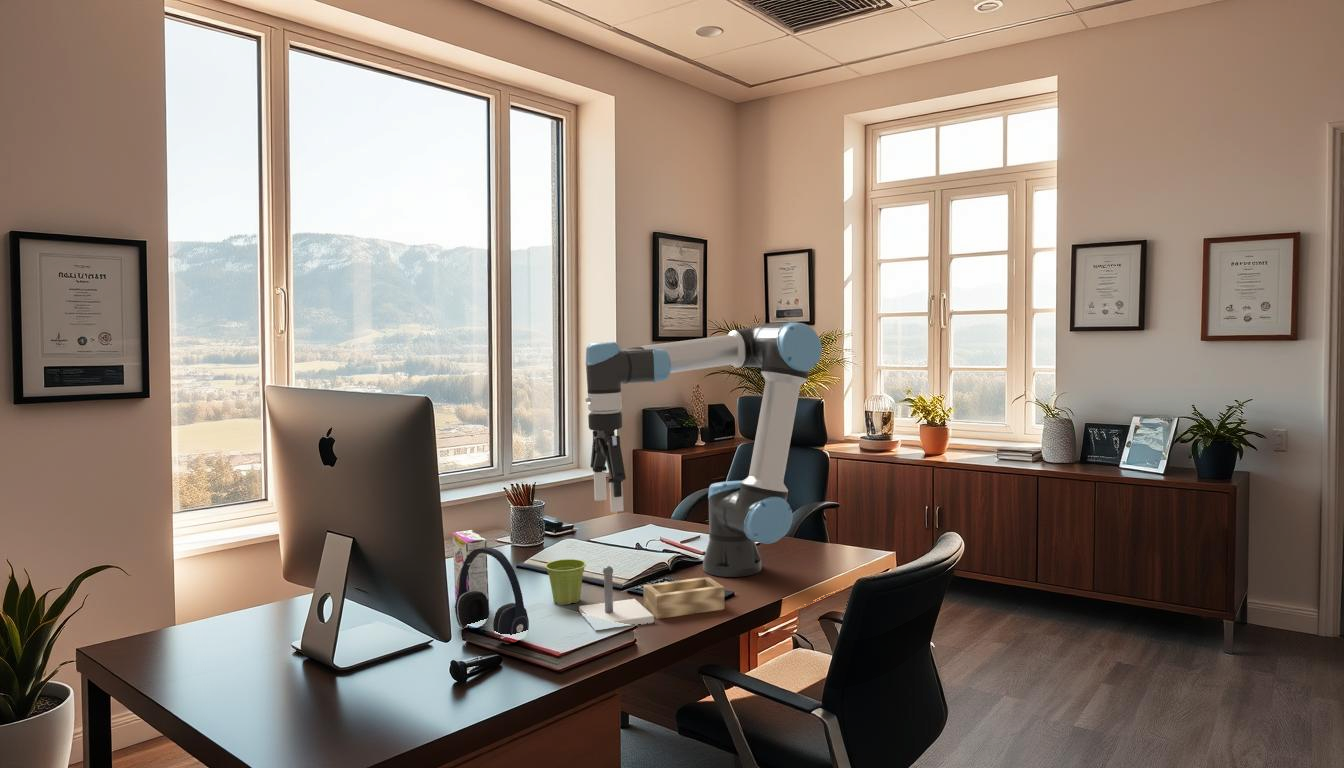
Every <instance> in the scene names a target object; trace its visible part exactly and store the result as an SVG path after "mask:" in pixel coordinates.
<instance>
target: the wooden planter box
mask: <svg viewBox="0 0 1344 768" xmlns="http://www.w3.org/2000/svg"><path fill="white" fill-rule="evenodd" d="M642 586H643V587H642V589H643V591H642V592H643V594H642V595H643V607H644V608H646V609H647V610H648V611H649V612H650V613H651V614H652V615H653V616H654V618H656V619H657V620H658V619H665V618H674V617H680V616H687V615H693V614H694V613H695V614H699V613H700V614H701V613H707V612H708V613H709V612H715V611H722V610H725V587H724V586H723V585H722V584H720V583H719V582H717V581H715V580H714V579H712V578H711V577H709V576H705V577H695V578H689V579H688V578H687V579H682V580H681V579H680V580H673V581H665V582H659V583H658V582H657V583H651V584H643V585H642Z"/></svg>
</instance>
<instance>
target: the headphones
mask: <svg viewBox="0 0 1344 768" xmlns="http://www.w3.org/2000/svg"><path fill="white" fill-rule="evenodd" d="M480 553H484V554H487V556H488V555H489V556H491V557H492V558H495V559H496V560H497V562H498V563H499V564H500V565H501V566H502V568H503V570H504V571H505V573H506V574H505V575H506V576H507V577H508V579H509V583H510V585H511V589H512V591H513V597H514V602H509V603H506V604H504V605H502V606H500V607H499V608H498V609H497V610H496V612H495V613H494V617H493V624H492V625H493V626H492V627H493V630H494V631H496V632H498V633H500V634H510V635H512V634H516V633H520V632H523V631H526V630H528V631H529V628H530V622H529V621H530V620H529V616H528V612H527V609H526V608H525V605H524V598H523V593H522V589H521V586H520V583H519V579H518V577H517V574H516V572H515V569H514V567H513V566H512V564H511V562H510V561H509V560H508V558H507V557H506V555H505V554H503V552H502V551H500V550H498V549H496V548H493V547H490V546H489V547H487V546H486V547H484V548H479V549H475V550H473V551H472V552H471V553H470V554H469V555H468V556H467V558H466V559H465V561H464V564H463V566H462V569H461V573H460V580H459V591H458V596H457V600H455V604H454V608H455V609H454V610H455V611H454V612H455V618H456V622H457V624H458V626H459V627H460V628H461V629H463V627H464V626H466V625H467V624H471V623H475V622H478V621H480V620H484V619H487V618H488V619H489V617H490V604H489V605H488V600H487V597H486V595H485V594H483V593H482V592H479V591H467V575H468V570H469V567H470V564H471V563H472V561H473V560H474V558H475V557H476V556H477V555H478V554H480ZM493 630H492V631H493ZM494 631H493V632H494Z"/></svg>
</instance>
